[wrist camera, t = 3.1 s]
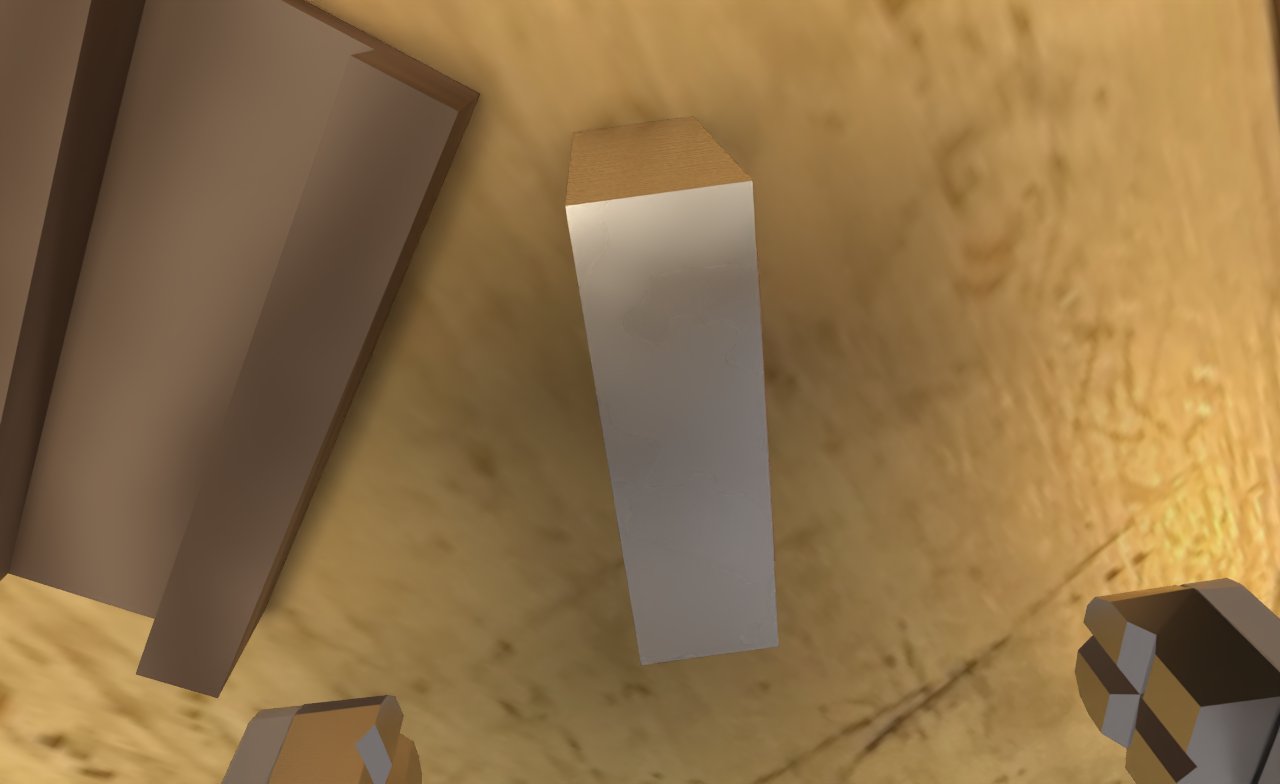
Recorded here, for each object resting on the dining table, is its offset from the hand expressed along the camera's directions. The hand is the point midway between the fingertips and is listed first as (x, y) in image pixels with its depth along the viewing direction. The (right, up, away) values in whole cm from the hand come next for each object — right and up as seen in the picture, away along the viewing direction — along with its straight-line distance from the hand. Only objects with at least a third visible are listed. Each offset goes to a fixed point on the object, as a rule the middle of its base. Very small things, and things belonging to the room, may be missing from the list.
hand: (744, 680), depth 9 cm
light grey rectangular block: (-1, +6, +13) cm, 14 cm away
